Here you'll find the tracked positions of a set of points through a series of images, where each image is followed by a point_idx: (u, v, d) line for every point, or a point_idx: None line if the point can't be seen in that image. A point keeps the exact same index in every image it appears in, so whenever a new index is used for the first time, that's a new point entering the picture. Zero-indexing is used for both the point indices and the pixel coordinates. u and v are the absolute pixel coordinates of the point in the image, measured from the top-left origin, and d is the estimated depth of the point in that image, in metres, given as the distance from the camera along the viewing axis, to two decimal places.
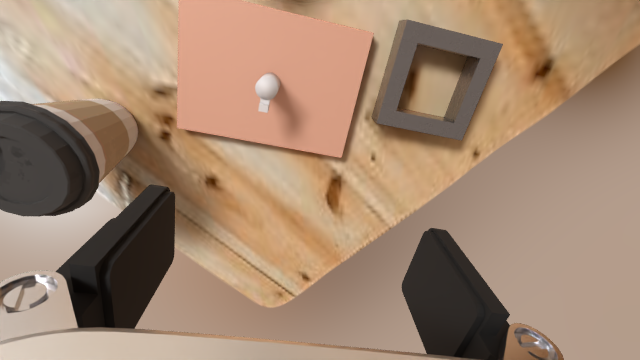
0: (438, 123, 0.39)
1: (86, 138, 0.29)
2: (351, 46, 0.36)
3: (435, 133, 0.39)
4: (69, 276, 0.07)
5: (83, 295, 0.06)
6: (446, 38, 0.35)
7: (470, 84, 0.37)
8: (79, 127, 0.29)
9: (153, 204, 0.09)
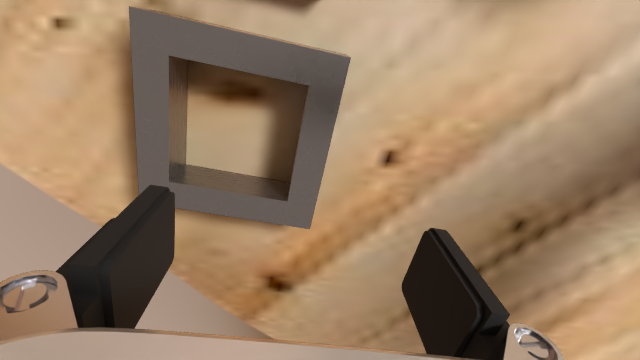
0: (161, 152, 0.19)
1: None
2: None
3: (139, 150, 0.19)
4: (69, 276, 0.07)
5: (83, 295, 0.06)
6: (317, 139, 0.19)
7: (243, 195, 0.21)
8: None
9: (153, 204, 0.09)
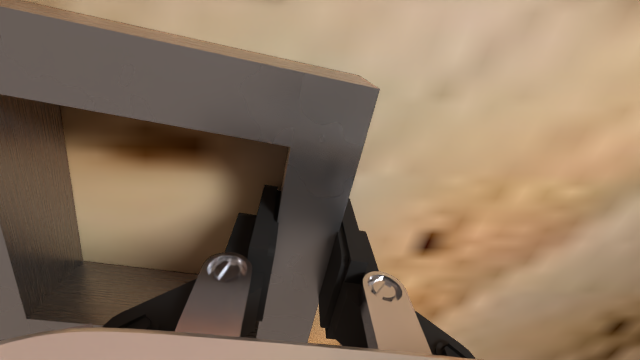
0: None
1: None
2: None
3: None
4: None
5: (255, 272, 0.08)
6: (308, 243, 0.10)
7: None
8: None
9: (275, 201, 0.10)
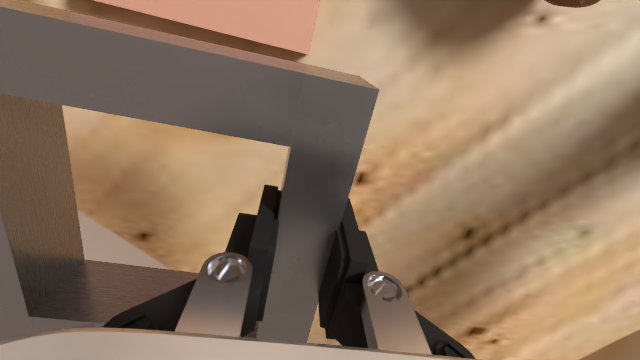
0: (1, 270, 0.10)
1: None
2: (287, 13, 0.21)
3: None
4: None
5: (255, 272, 0.08)
6: (308, 242, 0.10)
7: None
8: None
9: (276, 201, 0.10)
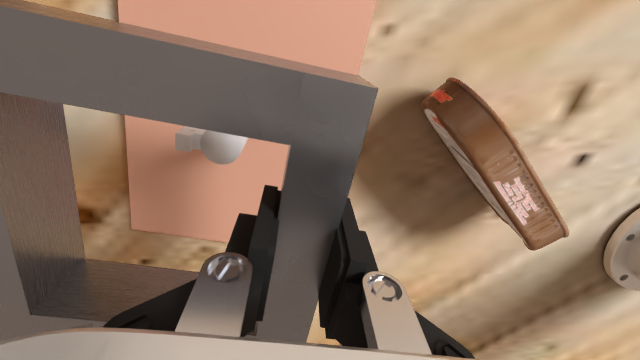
0: (2, 268, 0.10)
1: None
2: None
3: None
4: None
5: (255, 272, 0.08)
6: (308, 240, 0.10)
7: None
8: None
9: (276, 201, 0.10)
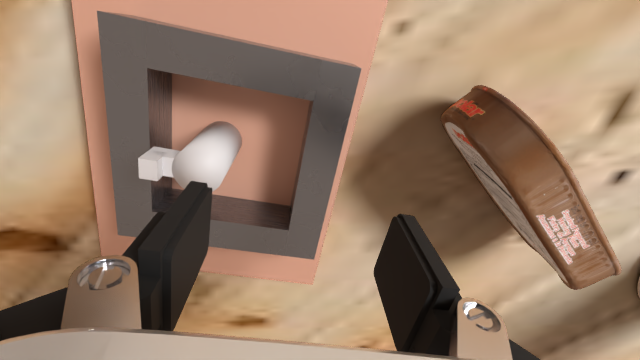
0: None
1: None
2: (293, 260, 0.23)
3: (116, 177, 0.16)
4: None
5: (148, 278, 0.07)
6: (322, 161, 0.17)
7: (238, 224, 0.18)
8: None
9: (197, 198, 0.10)
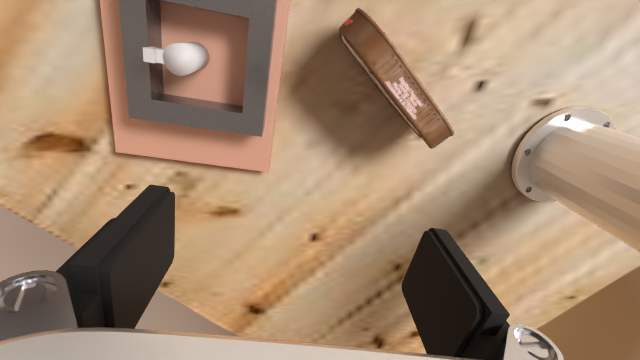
0: (144, 74, 0.26)
1: None
2: (252, 151, 0.33)
3: (127, 73, 0.26)
4: (69, 276, 0.07)
5: (83, 295, 0.06)
6: (259, 60, 0.26)
7: (208, 109, 0.28)
8: None
9: (153, 204, 0.09)
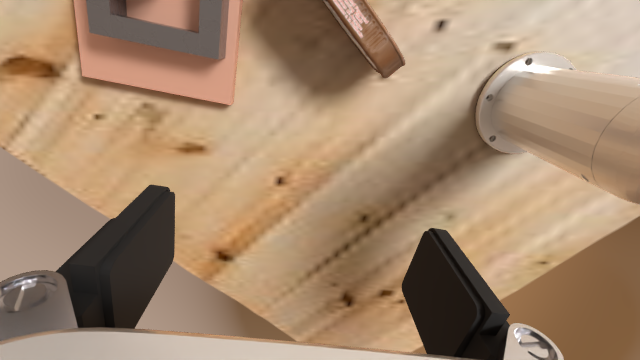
0: None
1: None
2: (214, 82, 0.34)
3: None
4: (69, 276, 0.07)
5: (83, 295, 0.06)
6: None
7: (165, 27, 0.29)
8: None
9: (153, 204, 0.09)
